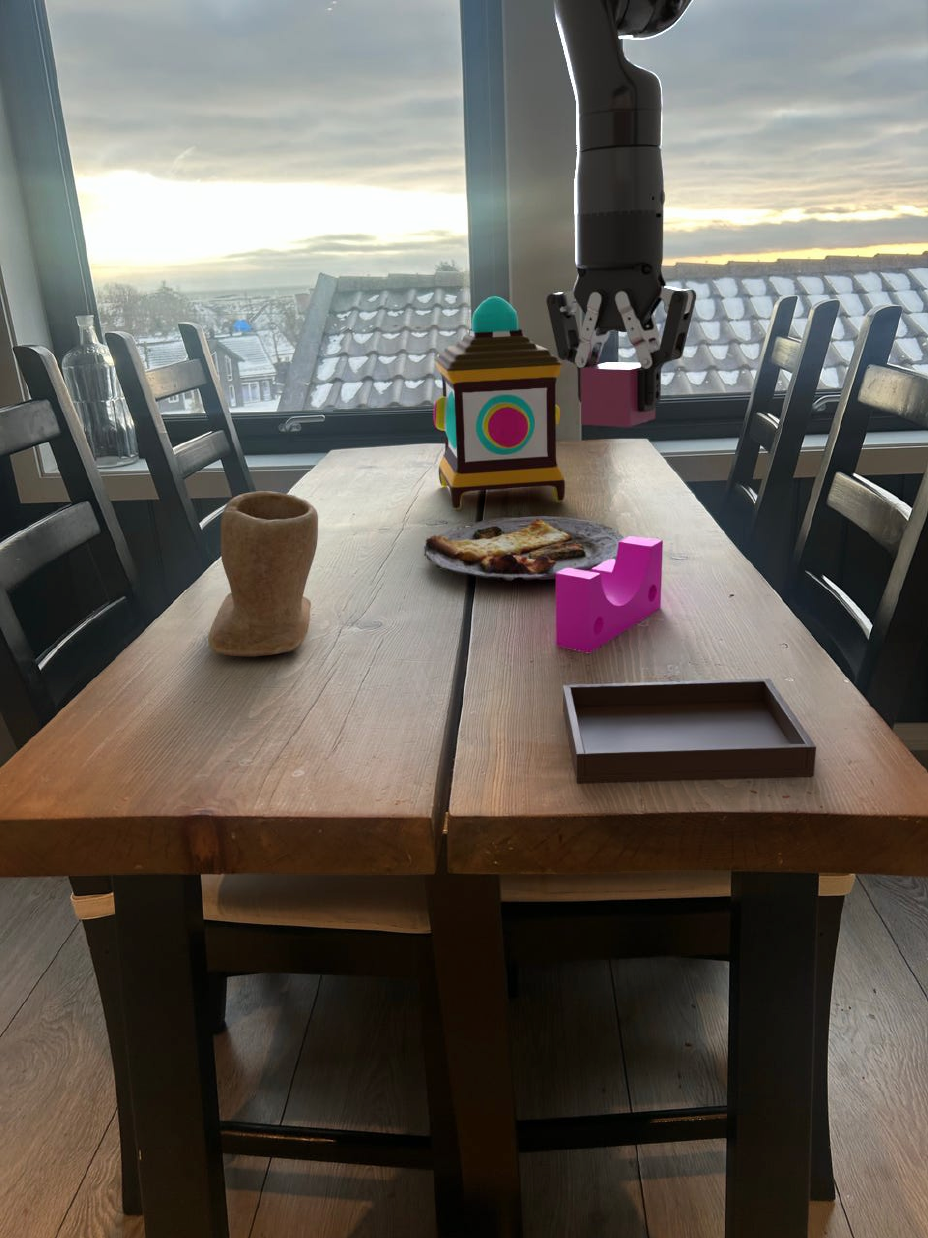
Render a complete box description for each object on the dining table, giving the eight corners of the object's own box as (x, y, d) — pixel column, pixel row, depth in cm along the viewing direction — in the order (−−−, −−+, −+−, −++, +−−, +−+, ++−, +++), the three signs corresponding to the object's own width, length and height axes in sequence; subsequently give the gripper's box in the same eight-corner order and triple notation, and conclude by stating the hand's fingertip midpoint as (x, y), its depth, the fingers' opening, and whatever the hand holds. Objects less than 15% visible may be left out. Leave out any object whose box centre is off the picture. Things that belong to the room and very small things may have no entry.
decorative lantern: (575, 504, 151) (575, 295, 140) (445, 513, 148) (435, 302, 138) (547, 476, 169) (545, 290, 159) (430, 484, 167) (421, 296, 157)
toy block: (609, 597, 111) (610, 532, 108) (660, 607, 107) (662, 540, 104) (534, 640, 100) (533, 568, 97) (589, 653, 96) (589, 579, 93)
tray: (767, 704, 84) (769, 678, 83) (813, 776, 73) (816, 747, 72) (562, 710, 84) (562, 684, 84) (576, 783, 73) (576, 754, 72)
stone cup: (323, 662, 96) (309, 510, 91) (199, 668, 96) (178, 517, 91) (335, 609, 111) (324, 475, 105) (227, 614, 110) (210, 480, 105)
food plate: (479, 605, 110) (478, 575, 109) (394, 555, 129) (392, 528, 128) (662, 566, 120) (663, 538, 119) (558, 525, 140) (557, 500, 139)
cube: (655, 418, 92) (656, 362, 90) (630, 427, 88) (630, 369, 87) (607, 416, 95) (607, 362, 93) (580, 424, 91) (580, 368, 90)
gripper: (524, 214, 87) (530, 412, 93) (677, 201, 79) (673, 419, 84) (568, 214, 92) (571, 401, 98) (716, 202, 84) (709, 406, 90)
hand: (618, 408), depth 91 cm, fingers closed on cube, 5 cm apart
